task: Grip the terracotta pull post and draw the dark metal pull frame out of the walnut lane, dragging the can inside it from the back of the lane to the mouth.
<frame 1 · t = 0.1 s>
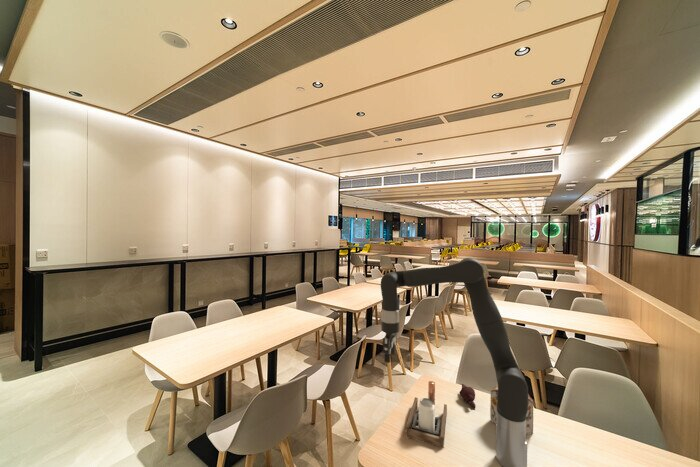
hand: (389, 357, 117), 29 cm above the table, fingers open, 8 cm apart
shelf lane: (427, 424, 118), on the table
can: (426, 431, 114), resting in pull frame
decorative jar: (510, 427, 118), on the table
pull frame: (428, 406, 122), point 6 cm above the table, slide at 0.0 cm
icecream: (467, 400, 136), on the table
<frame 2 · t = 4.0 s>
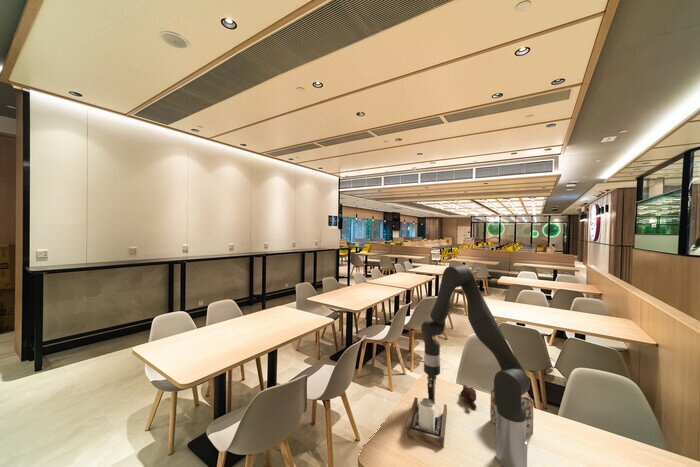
hand: (431, 398, 132), 3 cm above the table, fingers closed on pull frame, 3 cm apart
pull frame: (428, 406, 122), point 6 cm above the table, slide at 0.0 cm, touching gripper
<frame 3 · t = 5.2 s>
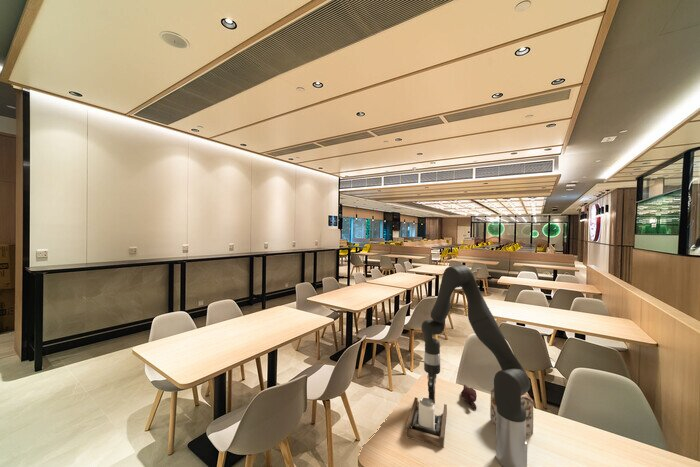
hand: (431, 396, 133), 3 cm above the table, fingers closed on pull frame, 3 cm apart
can: (426, 431, 115), resting in pull frame
pull frame: (429, 405, 123), point 6 cm above the table, slide at 1.2 cm, touching can, gripper
everything else where it was.
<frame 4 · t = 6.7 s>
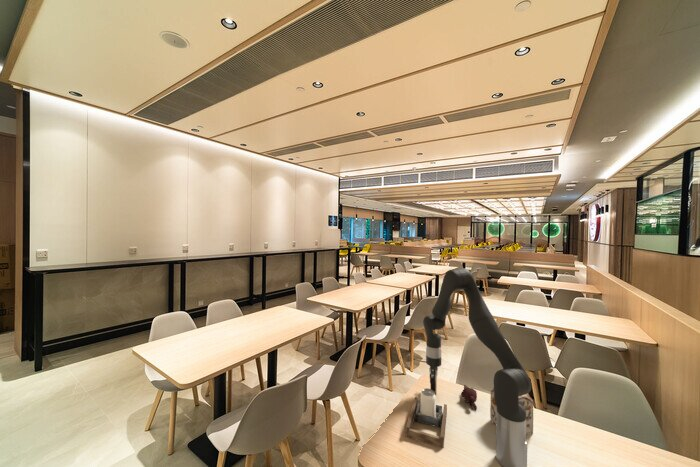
hand: (433, 388, 140), 3 cm above the table, fingers closed on pull frame, 3 cm apart
can: (427, 419, 122), resting in pull frame
pull frame: (431, 396, 130), point 5 cm above the table, slide at 8.8 cm, touching can, gripper
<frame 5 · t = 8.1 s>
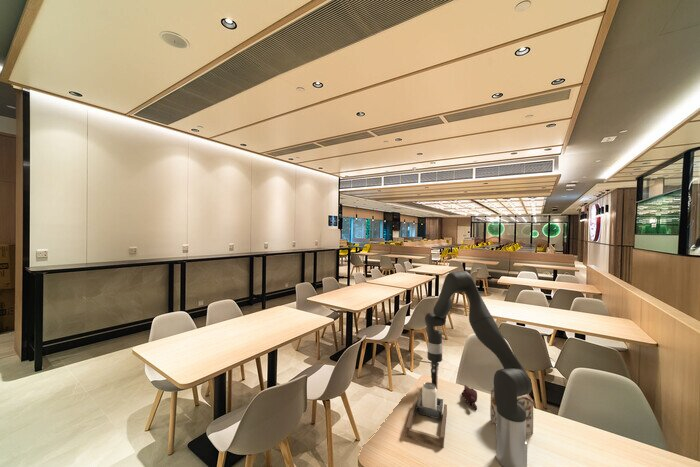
hand: (434, 383, 145), 3 cm above the table, fingers closed on pull frame, 3 cm apart
can: (429, 411, 127), resting in pull frame
pull frame: (432, 389, 135), point 6 cm above the table, slide at 14.5 cm, touching can, gripper
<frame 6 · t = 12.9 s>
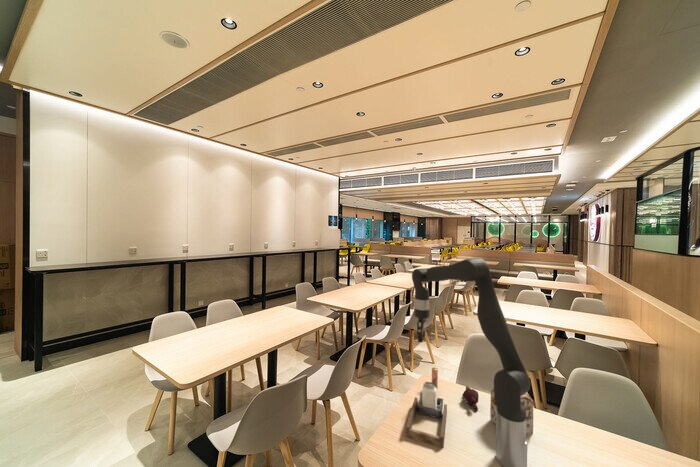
hand: (421, 339, 141), 28 cm above the table, fingers open, 8 cm apart
can: (429, 411, 127), resting in pull frame
pull frame: (432, 389, 135), point 6 cm above the table, slide at 14.8 cm
at the end: pull frame slide at 14.8 cm; can inside the target area (1.0 cm from its centre), resting in pull frame; can tilted 0° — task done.
